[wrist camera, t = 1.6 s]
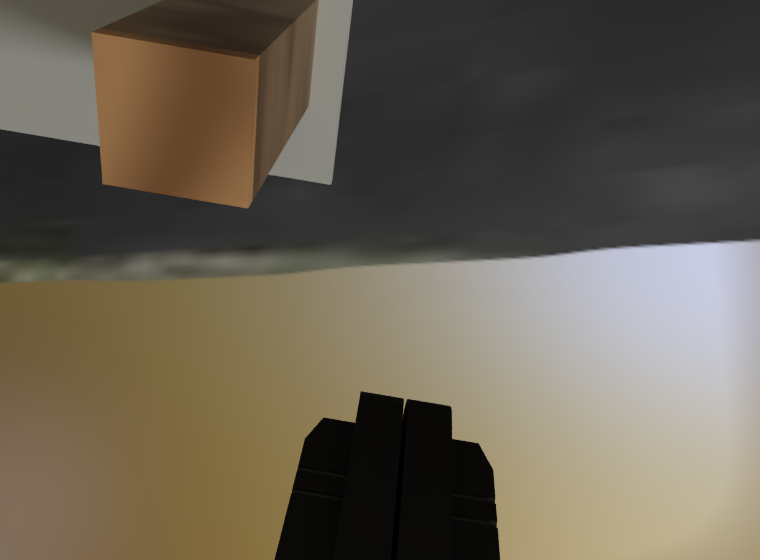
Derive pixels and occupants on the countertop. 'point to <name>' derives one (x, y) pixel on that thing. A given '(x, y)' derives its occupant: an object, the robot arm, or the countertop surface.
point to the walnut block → (202, 94)
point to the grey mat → (77, 79)
